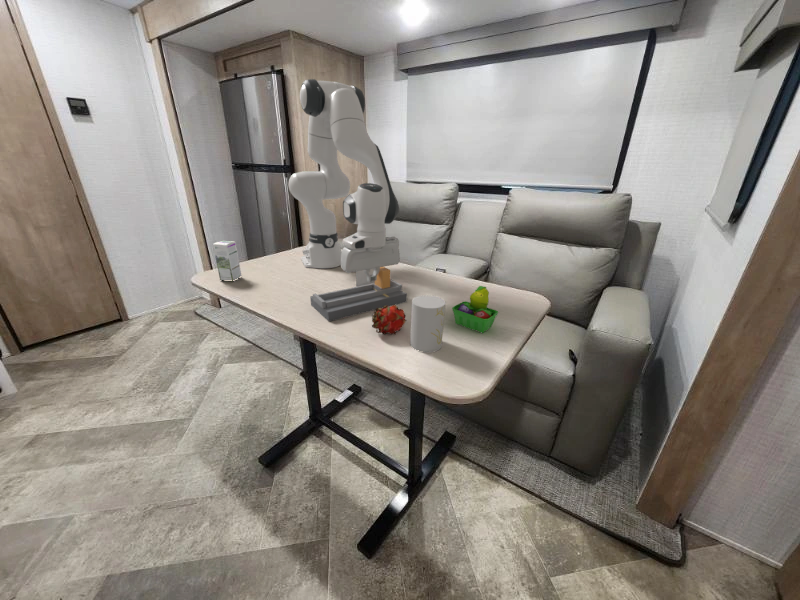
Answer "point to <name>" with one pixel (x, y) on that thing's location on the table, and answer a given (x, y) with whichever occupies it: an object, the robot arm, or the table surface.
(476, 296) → the fruit basket
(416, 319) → the cup
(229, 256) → the syrup box
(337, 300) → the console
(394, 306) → the dragon fruit
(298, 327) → the table surface
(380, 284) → the fader
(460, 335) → the table surface
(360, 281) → the milk carton
